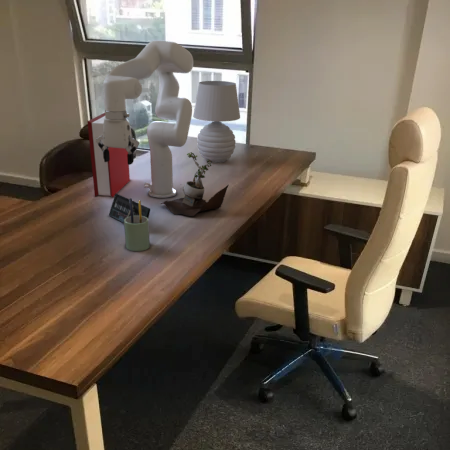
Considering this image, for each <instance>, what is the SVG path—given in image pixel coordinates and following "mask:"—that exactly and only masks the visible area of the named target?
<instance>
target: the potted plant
mask: <svg viewBox="0 0 450 450" xmlns="http://www.w3.org/2000/svg"><path fill="white" fill-rule="evenodd" d="M186 156H187V157H188V158H192V160H193V162H194V164H195V165H196V166H197V168H198V169H197V171H195V173H194V176H193V178H192V180H191V181H190V180H189V181H186V182H185V185H184V188H183V189H182V192H183V194H184V197H178V198H175V199H172V200H164V201H163V202H161V203H160V205H162V204H163V205H164V206H165V208H166V209H167V210H168V211H169V212H171V213H172V214H173V215H174V216H175V215H184V216H186V217H194V216H195V215H196V214H198V213H200V212H204V211H209V210H218V209H221V207H222V205H223V202H224V200H225V197H226V193H227V190H228V187H229V186H230V185H229V184H227V185H226V186H225V187H223V188H221V189H220V190H219V191H217V192H216V193H215V194H214V195H213V196H212V197H210V198H209V199H208V201H206V199H204V194H205V186H204V184H203V181H202V179H205V178H206V176H205V175H206V173H207V171H209V167H212V164H213V162H212V161H210V160H208V161H207V160H206V163H207V164H205V165H201V166H200V164H199V162H197V160H198V159H197V157H198V155H195V153H194V152H192V151H191V152H188V153H187V154H186Z"/></svg>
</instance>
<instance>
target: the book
mask: <svg viewBox="0 0 450 450" xmlns="http://www.w3.org/2000/svg"><path fill="white" fill-rule="evenodd" d="M104 119H106V118H105V112H103V113H101V114H99V115H97V116H95V117H93V118H91V119H89V120H87V130H88V131H87V132H88V141H89V142H88V143H89V152H90V162H91V171H92V180H93V182H92V183H93V193H94V197H96V196H109V197H111V198H114V196H115V193H116V194H118V193H119V192H120V191H121V190H122V189H123V188H124V187H126V186H127V184H128V183H130V181H131V178H130V177H131V176H130V165H128V160H127V154H128V152H127V150H126V149H125V148H113V147H109V148H108V150H109V155H110V161H108V162H104V158H103V151H102V150H101V148H100V147H99V146H98V143H97V141H96V138H98V137H100V136H102V135H103V124H104ZM101 141H102V143H103V139H102V140H101ZM103 144H104V143H103Z"/></svg>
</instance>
